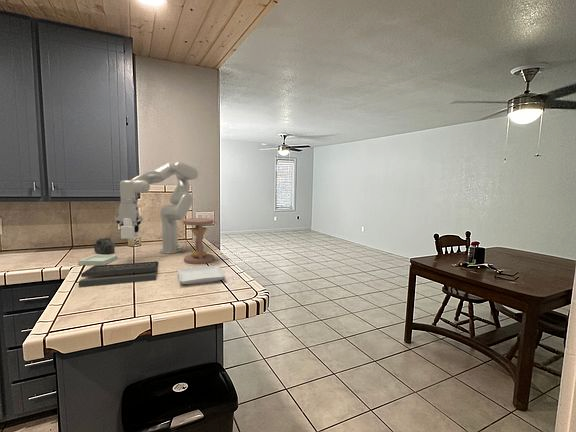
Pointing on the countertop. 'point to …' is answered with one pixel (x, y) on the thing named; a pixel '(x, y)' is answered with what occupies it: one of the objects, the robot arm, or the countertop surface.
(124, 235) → the medicine bottle
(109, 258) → the pale green square tray
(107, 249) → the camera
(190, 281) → the grey flat square slab
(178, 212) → the robot arm
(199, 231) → the hourglass
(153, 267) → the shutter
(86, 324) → the countertop surface
